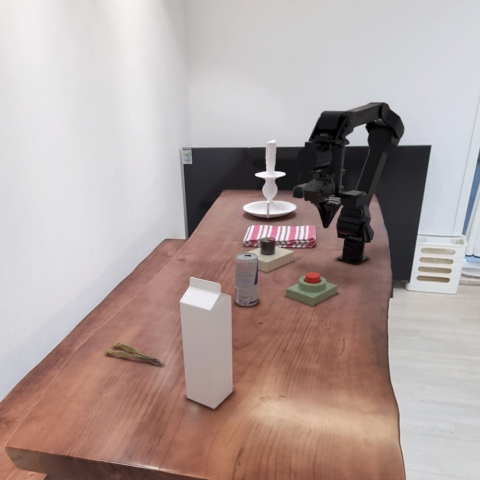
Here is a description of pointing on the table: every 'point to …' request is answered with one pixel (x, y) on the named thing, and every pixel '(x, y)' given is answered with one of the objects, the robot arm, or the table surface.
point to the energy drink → (246, 279)
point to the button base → (311, 291)
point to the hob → (273, 258)
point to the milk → (207, 342)
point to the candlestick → (270, 189)
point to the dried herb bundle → (132, 350)
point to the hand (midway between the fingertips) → (325, 228)
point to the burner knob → (267, 246)
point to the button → (312, 278)
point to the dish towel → (282, 235)
